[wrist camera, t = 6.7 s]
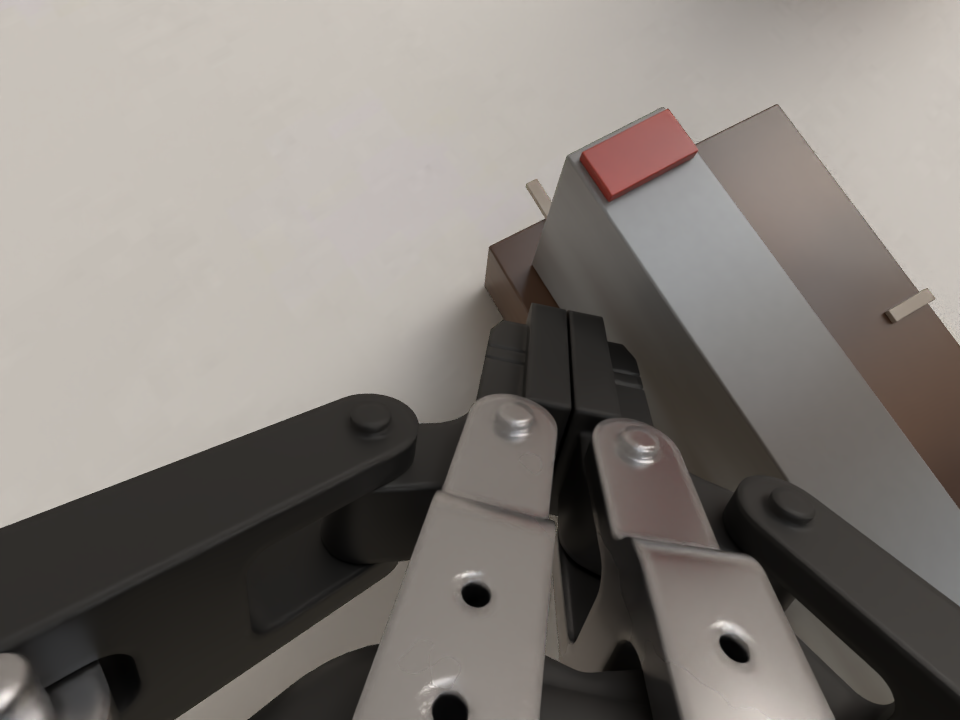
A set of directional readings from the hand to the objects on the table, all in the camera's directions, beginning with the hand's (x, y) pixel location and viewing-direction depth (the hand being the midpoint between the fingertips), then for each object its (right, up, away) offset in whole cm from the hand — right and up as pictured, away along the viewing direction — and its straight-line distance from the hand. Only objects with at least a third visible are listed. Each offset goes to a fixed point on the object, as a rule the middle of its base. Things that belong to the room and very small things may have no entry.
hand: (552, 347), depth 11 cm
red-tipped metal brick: (+4, -2, +2) cm, 5 cm away
